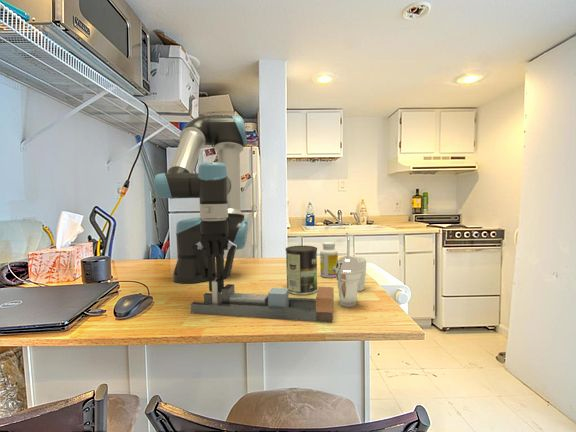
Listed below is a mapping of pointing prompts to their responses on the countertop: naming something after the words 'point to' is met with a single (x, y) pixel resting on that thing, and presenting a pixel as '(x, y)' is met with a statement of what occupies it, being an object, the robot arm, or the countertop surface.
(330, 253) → the supplement bottle
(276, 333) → the countertop surface
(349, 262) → the cup with straw
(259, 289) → the countertop surface
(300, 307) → the channel
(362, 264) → the white cup
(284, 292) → the block
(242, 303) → the silver metal slider block
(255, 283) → the countertop surface
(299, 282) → the coffee can
